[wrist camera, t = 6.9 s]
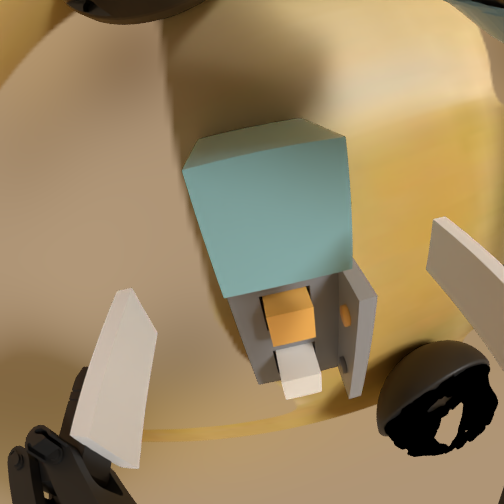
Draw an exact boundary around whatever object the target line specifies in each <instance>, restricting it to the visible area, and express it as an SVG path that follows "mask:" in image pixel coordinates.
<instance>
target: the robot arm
mask: <svg viewBox="0 0 504 504" xmlns="http://www.w3.org/2000/svg"><path fill="white" fill-rule="evenodd" d="M63 1H64V2H65V3H66V4H67V5H68V6H69V7H70V8H72V9H73V10H74V11H76V12H78V13H80V14H82V15H84V16H87V17H89V18H92V19H94V20H96V21H99V22H103V23H109V24H119V25H120V24H122V25H126V24H140V23H146V22H151V21H156V20H160V19H163V18H167V17H170V16H173V15H176V14H178V13H181V12H183V11H185V10H188V9H190V8H192V7H194V6H196V5H198V4H200V3H202V2H203V1H205V0H63ZM444 1H446V2H448V3H450V4H451V5H452V6H454V7H455V8H456V9H458V10H459V11H460V12H462V13H463V14H464V15H465V16H467V17H468V18H469V19H470V20H471V21H473V22H474V23H475V24H476V25H477V26H479V27H480V28H481V29H482V30H484V31H485V32H487V33H488V34H489V35H491V36H492V37H494V38H495V39H497V40H499V41H500V42H502V43H504V0H444ZM426 270H427V271H428V273H429V274H430V275H431V276H432V277H433V278H434V279H435V281H436V282H437V283H438V284H439V285H440V286H441V288H442V289H443V290H444V291H445V292H446V294H447V295H448V296H449V297H450V298H451V300H452V301H453V302H454V303H455V305H456V306H457V307H458V308H459V310H460V311H461V312H462V313H463V315H464V316H465V317H466V319H467V320H468V321H469V323H470V324H471V325H472V327H473V328H474V329H475V331H476V332H477V333H478V335H479V336H480V337H481V339H482V340H483V342H484V343H485V344H486V346H487V347H488V349H489V350H490V352H491V353H492V354H493V356H494V358H495V359H496V361H497V362H498V364H499V365H500V367H501V368H502V370H503V371H504V265H502V264H501V263H500V262H499V261H498V260H497V259H496V258H494V257H493V256H492V255H491V254H490V253H489V252H488V251H487V250H486V249H484V248H483V247H482V246H481V245H480V244H479V243H477V242H476V241H475V240H474V239H473V238H472V237H470V236H469V235H468V234H467V233H466V232H464V231H463V230H462V229H461V228H459V227H458V226H457V225H456V224H454V223H453V222H452V221H451V220H449V219H448V218H447V217H440V218H436V219H433V224H432V233H431V241H430V248H429V254H428V260H427V266H426ZM157 335H158V332H157V331H156V329H155V327H154V326H153V324H152V322H151V321H150V319H149V317H148V316H147V314H146V312H145V310H144V308H143V307H142V305H141V304H140V301H139V300H138V298H137V296H136V294H135V292H134V290H133V289H132V288H128V289H124V290H119V291H117V292H116V294H115V297H114V299H113V302H112V304H111V307H110V309H109V312H108V314H107V317H106V319H105V322H104V325H103V327H102V330H101V333H100V335H99V338H98V341H97V344H96V347H95V349H94V352H93V355H92V358H91V361H90V364H89V367H83V368H82V370H81V371H80V373H79V374H78V375H77V377H76V379H75V382H74V385H73V388H72V390H73V392H71V395H70V398H69V399H70V401H69V402H68V405H67V408H66V412H65V416H64V419H63V423H62V427H61V431H60V434H59V436H58V435H57V434H56V433H54V432H53V431H51V430H50V429H49V428H47V427H46V426H44V425H38V426H36V427H34V428H33V429H32V430H31V431H30V432H29V433H28V435H27V437H26V442H25V448H23V447H22V446H16V447H14V448H13V449H12V450H11V452H10V453H9V456H8V473H9V483H10V490H11V496H12V503H13V504H136V502H135V501H134V500H133V498H132V497H131V495H130V494H129V493H128V491H127V490H126V488H125V487H124V485H123V484H122V482H121V481H120V479H119V478H118V476H117V475H116V473H115V472H114V471H113V470H112V469H111V468H110V467H111V462H113V463H114V464H116V465H118V466H120V467H125V468H135V469H139V461H140V452H141V442H142V433H143V424H144V416H145V408H146V401H147V394H148V387H149V381H150V374H151V368H152V363H153V356H154V351H155V345H156V340H157ZM43 491H45V492H47V493H49V499H46V498H45V497H44V493H43ZM498 504H504V488H503V491H502V494H501V497H500V500H499V503H498Z"/></svg>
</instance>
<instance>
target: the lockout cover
mask: <svg viewBox="0 0 504 504" xmlns="http://www.w3.org/2000/svg"><path fill="white" fill-rule="evenodd" d="M182 173H183V176H184V180H185V183H186V186H187V189H188V193H189V196H190V199H191V202H192V205H193V208H194V212H195V215H196V218H197V221H198V224H199V227H200V230H201V233H202V236H203V239H204V242H205V245H206V248H207V251H208V254H209V257H210V260H211V263H212V266H213V269H214V272H215V275H216V277H217V280H218V283H219V286H220V289H221V292H222V294H223V297H224V298H228V297H233V296H237V295H242V294H247V293H251V292H256V291H261V290H265V289H270V288H274V287H279V286H283V285H287V284H292V283H296V282H300V281H305V280H309V279H313V278H317V277H321V276H325V275H330V274H334V273H338V272H342V271H346V270H350V269H352V267H353V259H352V215H351V195H350V180H349V167H348V156H347V146H346V137H345V136H342V135H340V134H338V133H336V132H333V131H331V130H329V129H326V128H324V127H322V126H319V125H317V124H314V123H312V122H309V121H307V120H304V119H302V118H297V119H291V120H285V121H279V122H273V123H268V124H263V125H257V126H253V127H248V128H243V129H238V130H234V131H230V132H225V133H221V134H217V135H213V136H209V137H205V138H201V139H198V140H197V142H196V144H195V146H194V148H193V150H192V152H191V153H190V155H189V157H188V159H187V161H186V163H185V165H184V167H183V169H182Z"/></svg>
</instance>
